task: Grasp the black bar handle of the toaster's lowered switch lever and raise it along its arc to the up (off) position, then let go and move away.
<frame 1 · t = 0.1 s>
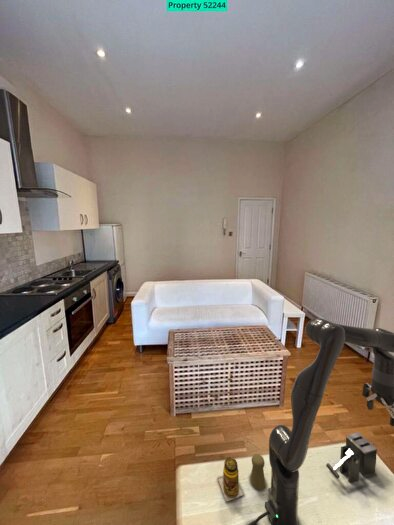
hand: (381, 417, 88), 29 cm above the table, tool pointing down, fingers open, 8 cm apart
toaster body: (359, 466, 97), on the table
switch lever: (342, 462, 90), point 9 cm above the table, hinge at -28.0°
condiment: (230, 487, 89), on the table
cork: (257, 481, 91), on the table
switch bracket: (348, 478, 92), on the table
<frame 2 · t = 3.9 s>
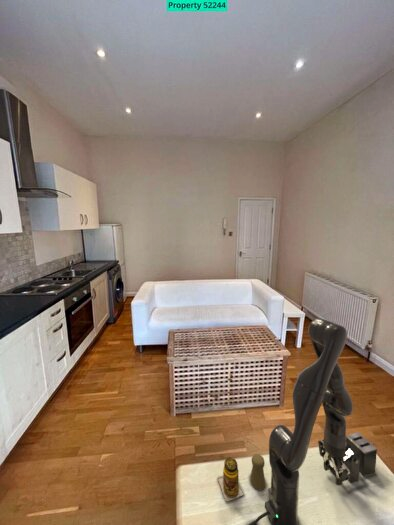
hand: (332, 476, 89), 4 cm above the table, tool pointing down, fingers closed on switch lever, 5 cm apart
switch lever: (342, 462, 90), point 9 cm above the table, hinge at -28.1°, touching gripper
everything else where it was.
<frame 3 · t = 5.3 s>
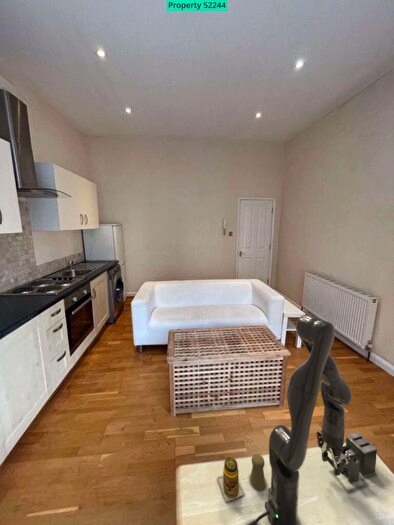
hand: (330, 467, 89), 8 cm above the table, tool pointing down, fingers closed on switch lever, 5 cm apart
switch lever: (341, 458, 90), point 11 cm above the table, hinge at -2.2°, touching gripper
everything else where it was.
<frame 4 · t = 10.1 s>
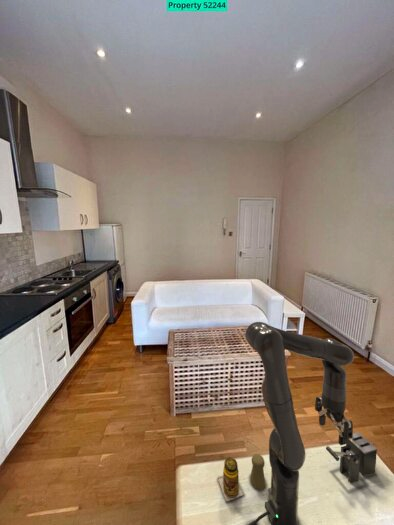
hand: (331, 433, 82), 28 cm above the table, tool pointing down, fingers open, 8 cm apart
switch lever: (342, 454, 90), point 13 cm above the table, hinge at 19.6°
everything else where it was.
at the end: switch lever at +20° (first picture: -28°) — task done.
